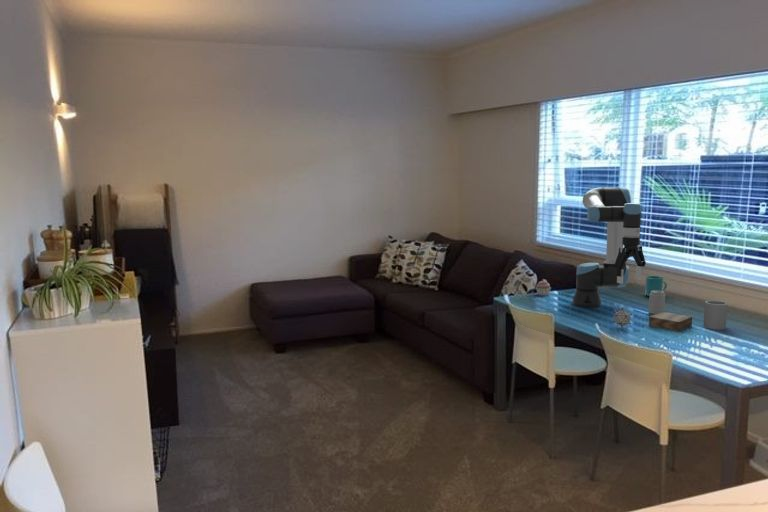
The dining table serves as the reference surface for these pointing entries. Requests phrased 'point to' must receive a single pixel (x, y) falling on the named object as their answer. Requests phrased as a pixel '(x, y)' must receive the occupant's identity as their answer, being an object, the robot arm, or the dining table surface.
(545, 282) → the cupcake
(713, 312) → the cup
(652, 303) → the can
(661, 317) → the walnut block
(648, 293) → the cup
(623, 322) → the game die
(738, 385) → the dining table surface
